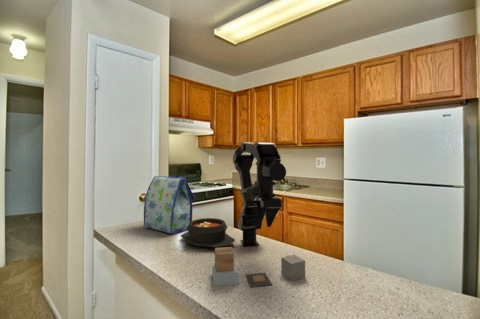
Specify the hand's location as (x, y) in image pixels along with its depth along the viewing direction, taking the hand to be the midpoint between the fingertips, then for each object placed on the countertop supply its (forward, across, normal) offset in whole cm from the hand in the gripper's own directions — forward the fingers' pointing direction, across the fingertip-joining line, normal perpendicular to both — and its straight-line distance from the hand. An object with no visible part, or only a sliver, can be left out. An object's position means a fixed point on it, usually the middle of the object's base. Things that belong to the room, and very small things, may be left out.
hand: (265, 223), depth 86 cm
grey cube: (+13, +13, +5) cm, 19 cm away
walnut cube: (+9, +11, -16) cm, 21 cm away
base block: (+13, +11, -15) cm, 23 cm away
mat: (+12, +14, -6) cm, 20 cm away
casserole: (+13, -21, -19) cm, 31 cm away
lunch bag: (+13, -45, -37) cm, 60 cm away
